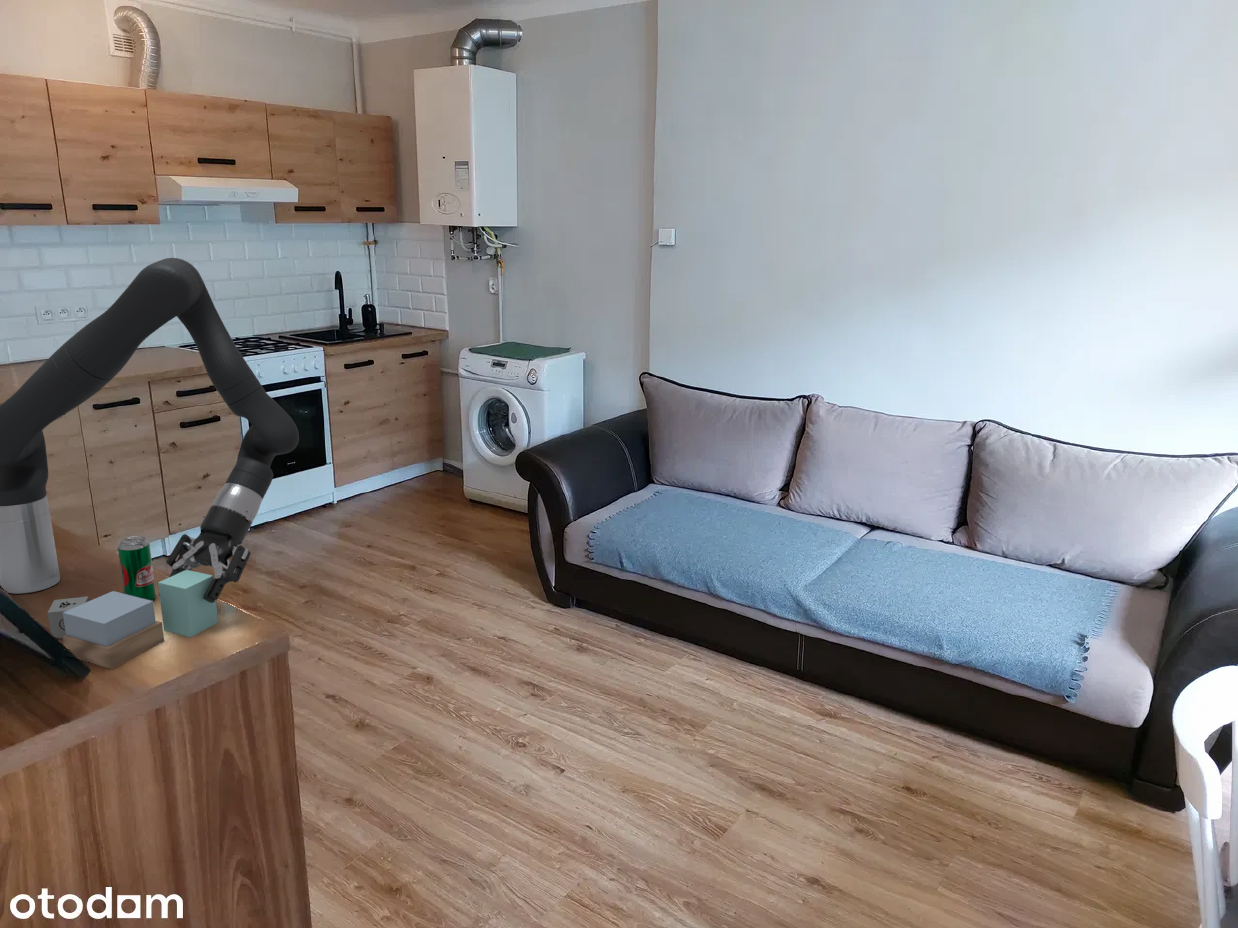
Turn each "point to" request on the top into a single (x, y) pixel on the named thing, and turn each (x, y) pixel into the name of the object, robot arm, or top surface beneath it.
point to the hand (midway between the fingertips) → (188, 596)
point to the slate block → (109, 618)
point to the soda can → (136, 567)
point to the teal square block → (186, 603)
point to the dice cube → (57, 613)
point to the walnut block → (116, 647)
